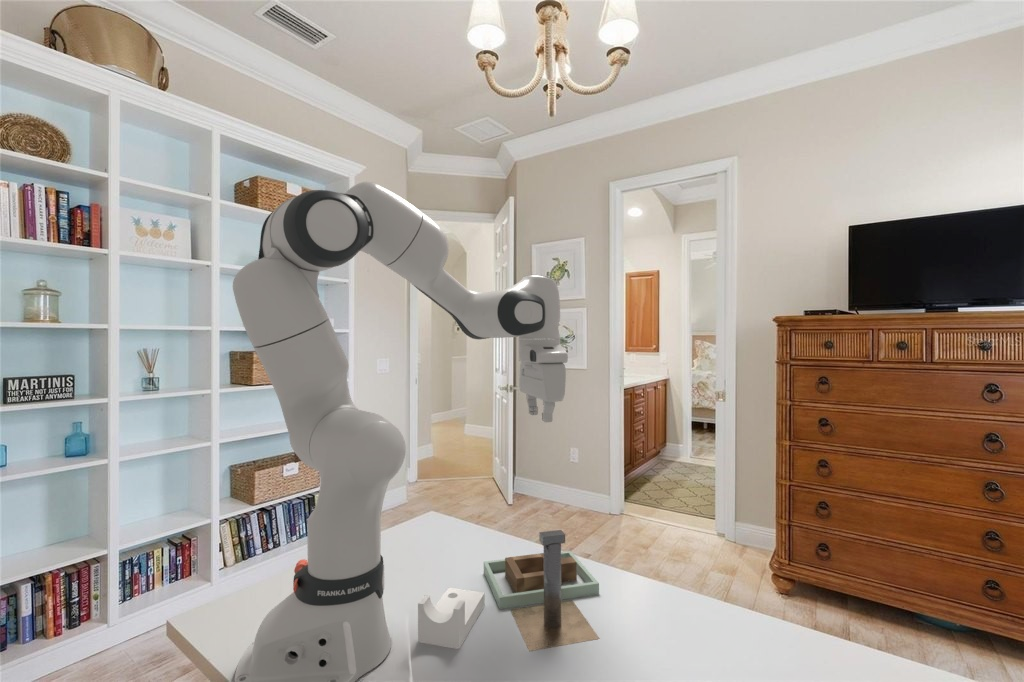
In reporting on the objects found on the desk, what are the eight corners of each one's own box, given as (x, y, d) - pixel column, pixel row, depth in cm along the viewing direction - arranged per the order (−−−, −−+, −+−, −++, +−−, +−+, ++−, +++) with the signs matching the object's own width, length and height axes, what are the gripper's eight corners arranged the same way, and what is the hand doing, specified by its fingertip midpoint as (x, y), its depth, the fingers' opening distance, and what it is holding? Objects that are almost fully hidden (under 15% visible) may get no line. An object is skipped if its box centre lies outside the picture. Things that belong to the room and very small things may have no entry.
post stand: (529, 657, 75) (528, 552, 75) (510, 614, 87) (509, 523, 87) (599, 644, 78) (599, 543, 78) (572, 605, 90) (571, 517, 90)
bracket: (459, 657, 76) (459, 609, 76) (418, 650, 78) (417, 603, 78) (484, 611, 89) (484, 570, 88) (448, 606, 90) (448, 566, 90)
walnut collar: (516, 599, 91) (516, 578, 91) (505, 577, 100) (505, 557, 100) (583, 589, 94) (583, 569, 94) (566, 568, 103) (566, 550, 103)
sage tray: (499, 614, 87) (499, 597, 87) (483, 575, 101) (483, 561, 101) (599, 598, 92) (599, 583, 92) (570, 564, 106) (570, 550, 106)
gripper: (512, 351, 111) (512, 411, 111) (540, 354, 91) (540, 427, 91) (538, 351, 113) (538, 410, 113) (571, 354, 93) (571, 425, 93)
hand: (539, 418), depth 102 cm, fingers open, 8 cm apart
